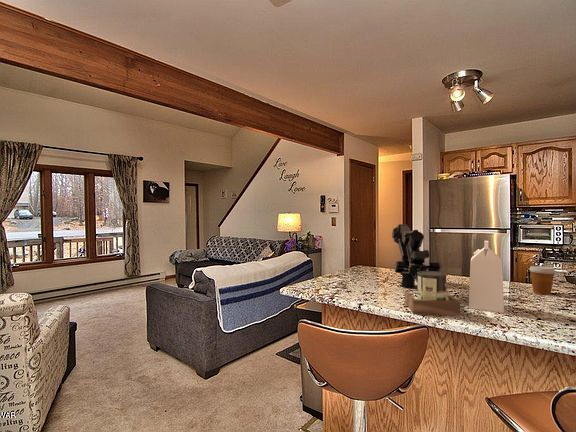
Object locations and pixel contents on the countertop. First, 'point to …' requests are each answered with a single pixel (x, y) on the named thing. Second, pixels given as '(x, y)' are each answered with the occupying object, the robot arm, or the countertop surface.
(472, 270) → the milk
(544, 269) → the disposable coffee cup
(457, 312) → the brown tray
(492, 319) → the countertop surface
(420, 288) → the coffee can
